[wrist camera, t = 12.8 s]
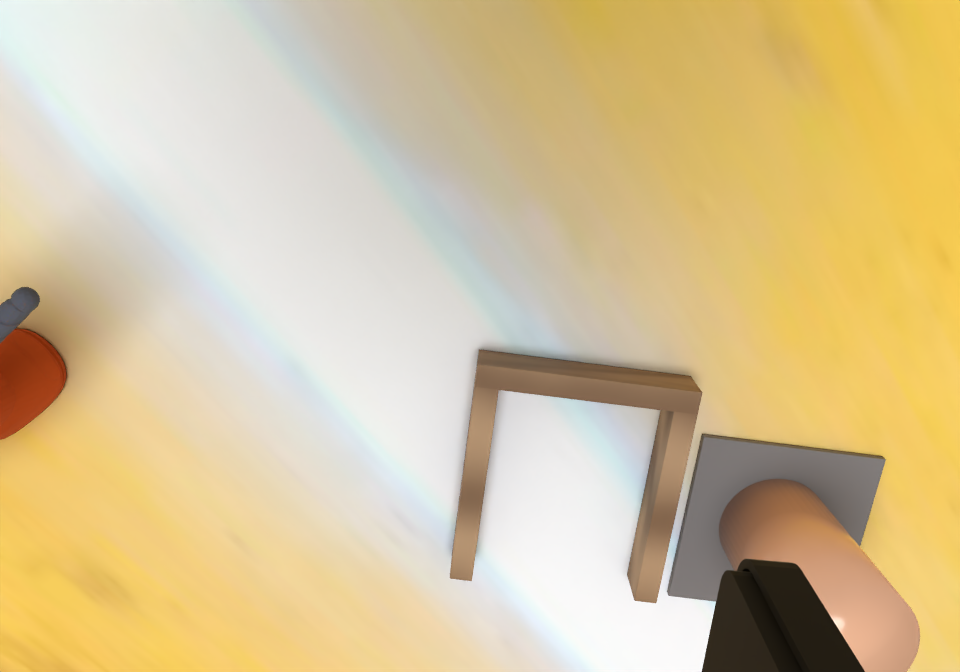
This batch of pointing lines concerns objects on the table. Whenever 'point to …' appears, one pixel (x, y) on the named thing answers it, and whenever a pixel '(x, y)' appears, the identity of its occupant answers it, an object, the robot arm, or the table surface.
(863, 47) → the table surface
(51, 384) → the toy drill
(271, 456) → the table surface
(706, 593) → the mat
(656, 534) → the brown wooden u-shaped piece
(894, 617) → the pink mug
